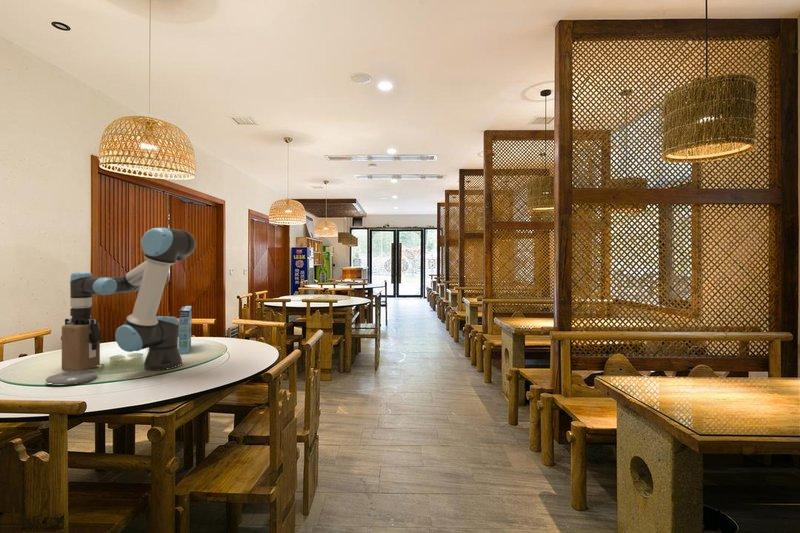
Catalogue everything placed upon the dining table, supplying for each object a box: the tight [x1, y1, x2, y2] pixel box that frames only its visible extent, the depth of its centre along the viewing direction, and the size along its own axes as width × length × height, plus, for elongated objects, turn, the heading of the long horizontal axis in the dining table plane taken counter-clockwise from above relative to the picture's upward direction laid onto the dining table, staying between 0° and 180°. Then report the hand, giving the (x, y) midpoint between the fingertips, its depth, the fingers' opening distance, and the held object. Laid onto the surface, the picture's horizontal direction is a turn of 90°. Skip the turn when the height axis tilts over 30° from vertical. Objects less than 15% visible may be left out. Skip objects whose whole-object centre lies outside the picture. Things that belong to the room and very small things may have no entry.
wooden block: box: [61, 322, 101, 372], centre depth 177 cm, size 10×10×20 cm
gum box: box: [178, 305, 193, 355], centre depth 215 cm, size 20×5×23 cm, turn 24°
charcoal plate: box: [45, 369, 98, 385], centre depth 160 cm, size 16×16×2 cm
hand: (81, 356), depth 178 cm, fingers closed on wooden block, 10 cm apart
